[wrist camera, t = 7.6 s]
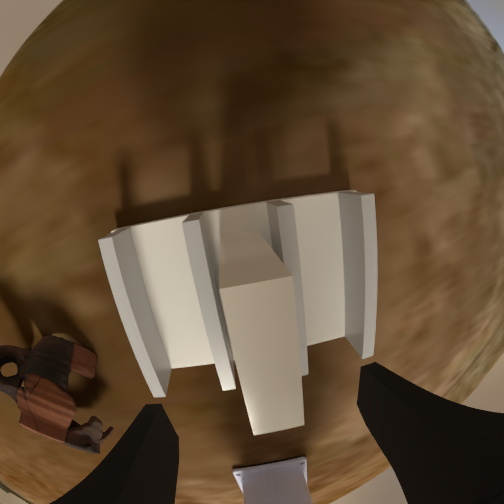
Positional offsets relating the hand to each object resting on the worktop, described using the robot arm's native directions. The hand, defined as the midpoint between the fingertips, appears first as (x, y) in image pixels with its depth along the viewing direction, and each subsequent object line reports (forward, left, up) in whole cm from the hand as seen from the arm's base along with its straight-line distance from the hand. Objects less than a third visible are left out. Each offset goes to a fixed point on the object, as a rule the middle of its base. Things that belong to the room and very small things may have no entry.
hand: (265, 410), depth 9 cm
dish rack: (+1, 0, -10) cm, 10 cm away
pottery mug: (-5, +17, -10) cm, 20 cm away
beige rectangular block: (+1, 0, -9) cm, 9 cm away
